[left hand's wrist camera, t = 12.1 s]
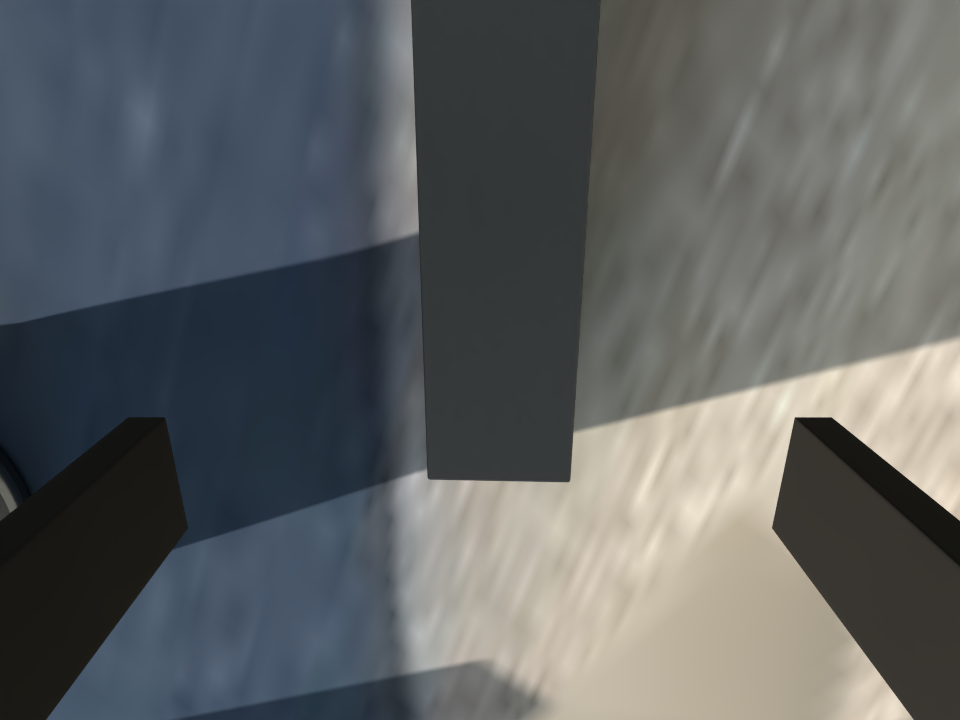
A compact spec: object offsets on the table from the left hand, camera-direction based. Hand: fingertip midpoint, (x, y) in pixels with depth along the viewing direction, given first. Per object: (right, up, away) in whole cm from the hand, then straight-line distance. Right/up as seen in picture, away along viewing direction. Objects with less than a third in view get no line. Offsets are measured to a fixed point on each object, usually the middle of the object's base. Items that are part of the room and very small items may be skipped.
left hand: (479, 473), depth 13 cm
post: (+1, +37, +3) cm, 38 cm away
